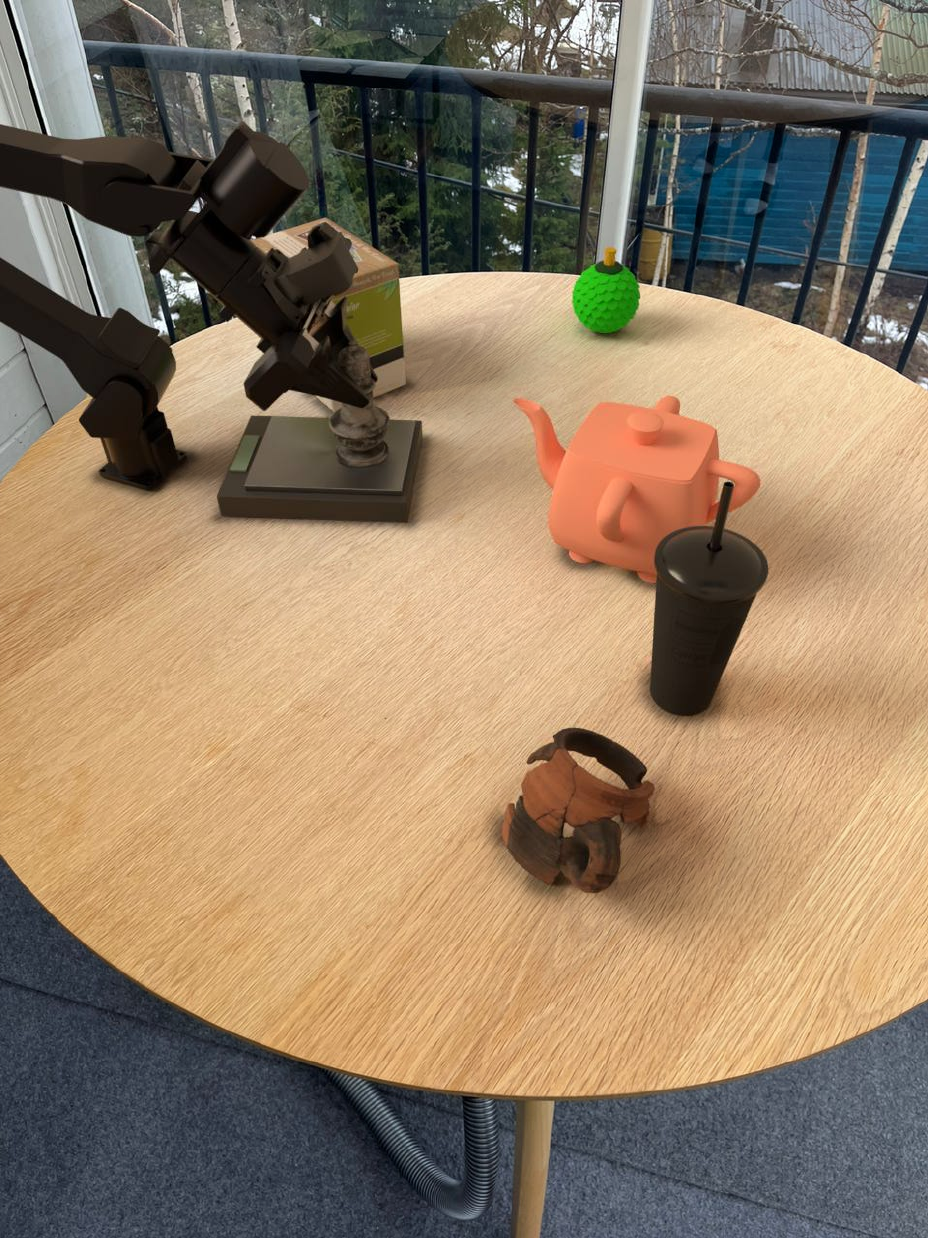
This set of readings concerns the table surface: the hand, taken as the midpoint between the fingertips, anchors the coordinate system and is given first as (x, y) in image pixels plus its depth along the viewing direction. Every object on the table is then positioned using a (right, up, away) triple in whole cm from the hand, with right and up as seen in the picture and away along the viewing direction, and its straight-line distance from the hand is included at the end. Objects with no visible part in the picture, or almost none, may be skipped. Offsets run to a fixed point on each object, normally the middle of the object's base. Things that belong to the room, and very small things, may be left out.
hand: (370, 393), depth 87 cm
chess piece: (-1, -5, +5) cm, 7 cm away
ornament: (+26, +15, +28) cm, 41 cm away
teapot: (+23, -14, 0) cm, 27 cm away
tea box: (-6, +7, +22) cm, 24 cm away
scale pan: (-4, -5, +5) cm, 8 cm away
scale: (-5, -7, +7) cm, 11 cm away
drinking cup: (+26, -27, -14) cm, 40 cm away
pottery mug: (+16, -36, -23) cm, 46 cm away
